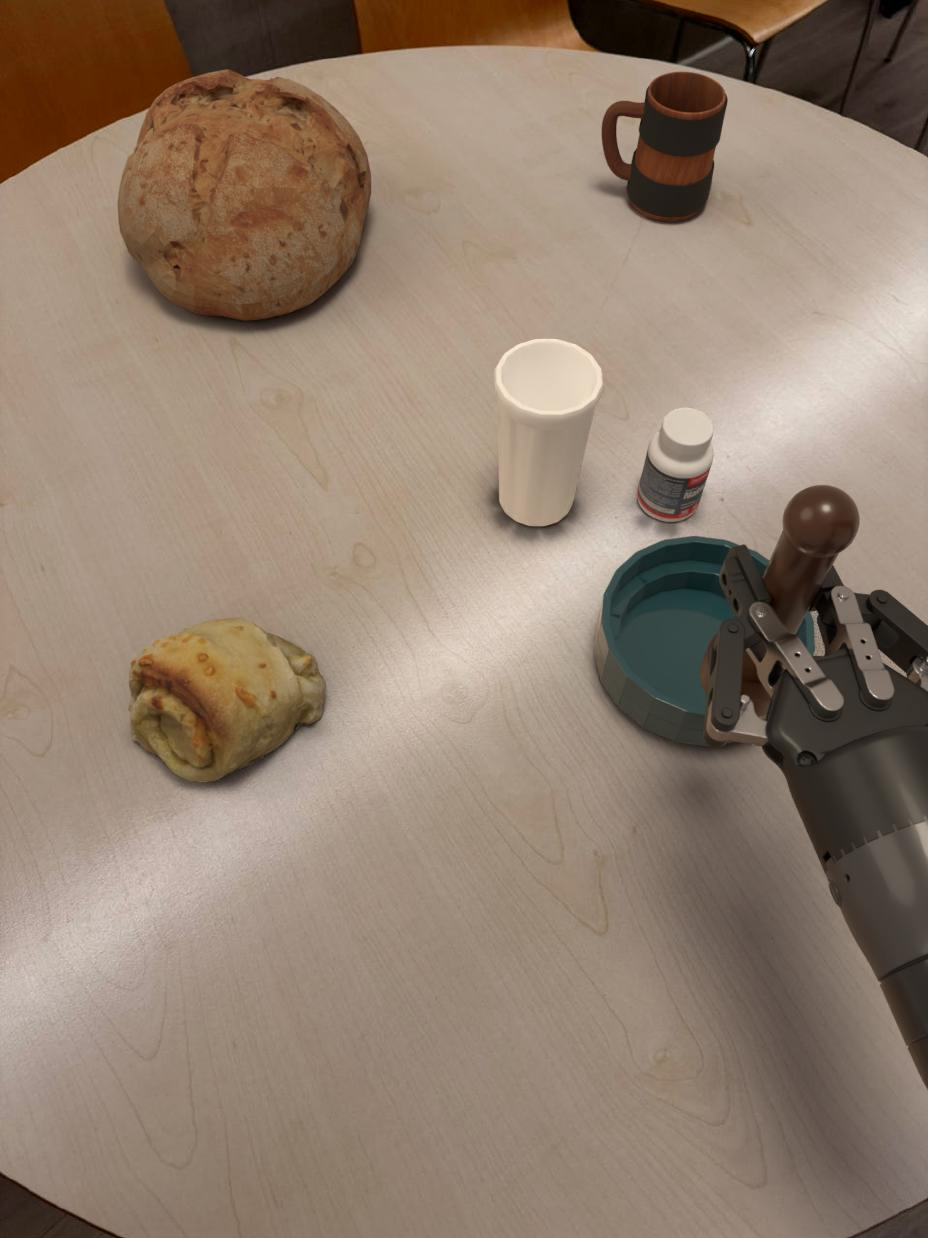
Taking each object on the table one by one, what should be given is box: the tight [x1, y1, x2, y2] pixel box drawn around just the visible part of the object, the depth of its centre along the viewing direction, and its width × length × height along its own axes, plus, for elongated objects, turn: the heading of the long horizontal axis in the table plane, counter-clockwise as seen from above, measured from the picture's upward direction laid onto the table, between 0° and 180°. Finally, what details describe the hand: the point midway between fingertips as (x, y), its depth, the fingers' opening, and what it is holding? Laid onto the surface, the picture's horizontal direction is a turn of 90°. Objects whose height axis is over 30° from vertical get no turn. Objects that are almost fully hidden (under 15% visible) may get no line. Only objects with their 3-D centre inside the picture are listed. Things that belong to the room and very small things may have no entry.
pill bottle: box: [636, 407, 715, 523], centre depth 83 cm, size 5×5×9 cm
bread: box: [117, 68, 372, 322], centre depth 98 cm, size 26×23×15 cm
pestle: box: [700, 484, 861, 717], centre depth 53 cm, size 5×5×17 cm
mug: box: [601, 71, 729, 223], centre depth 104 cm, size 9×12×12 cm
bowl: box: [593, 535, 816, 747], centre depth 76 cm, size 15×15×6 cm
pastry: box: [128, 617, 327, 783], centre depth 72 cm, size 14×12×8 cm
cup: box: [493, 338, 605, 527], centre depth 81 cm, size 8×8×14 cm
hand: (763, 549), depth 54 cm, fingers closed on pestle, 3 cm apart
